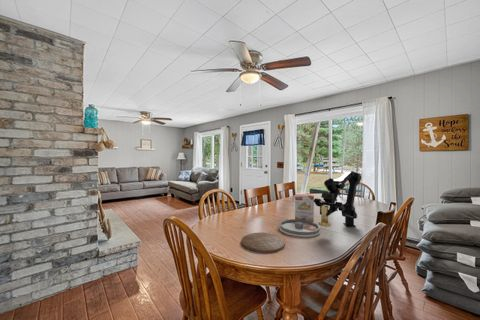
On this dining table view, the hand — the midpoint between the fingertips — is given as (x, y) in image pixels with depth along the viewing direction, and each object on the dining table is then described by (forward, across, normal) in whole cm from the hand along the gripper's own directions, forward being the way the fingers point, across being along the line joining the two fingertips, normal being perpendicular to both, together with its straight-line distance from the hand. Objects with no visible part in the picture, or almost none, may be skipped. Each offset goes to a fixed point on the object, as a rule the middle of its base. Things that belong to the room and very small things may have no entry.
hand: (323, 215), depth 128 cm
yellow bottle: (+4, 0, +6) cm, 7 cm away
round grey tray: (+11, -17, +8) cm, 22 cm away
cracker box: (-2, -26, +22) cm, 34 cm away
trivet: (+36, -16, -17) cm, 43 cm away
